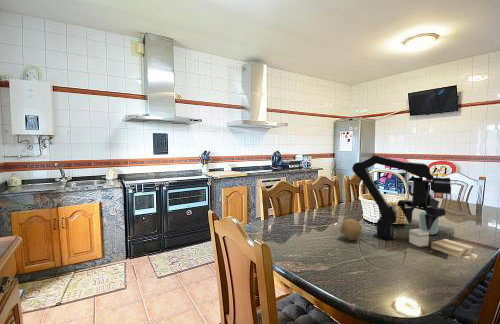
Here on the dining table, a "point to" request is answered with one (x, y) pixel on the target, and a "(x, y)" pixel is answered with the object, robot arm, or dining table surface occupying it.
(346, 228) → the natural sponge
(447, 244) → the oak block
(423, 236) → the white lidded box
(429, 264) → the dining table surface
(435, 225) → the cup
